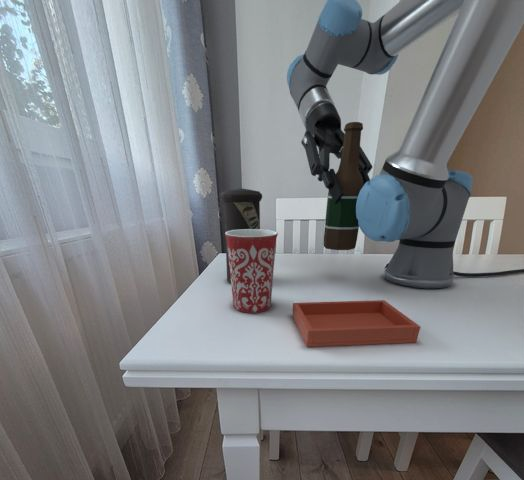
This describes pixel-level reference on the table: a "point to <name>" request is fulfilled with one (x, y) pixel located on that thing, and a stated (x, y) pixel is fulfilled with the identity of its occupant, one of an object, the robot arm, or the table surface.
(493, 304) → the table surface
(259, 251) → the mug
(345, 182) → the beer bottle
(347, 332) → the red tray
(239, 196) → the container
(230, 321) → the table surface
